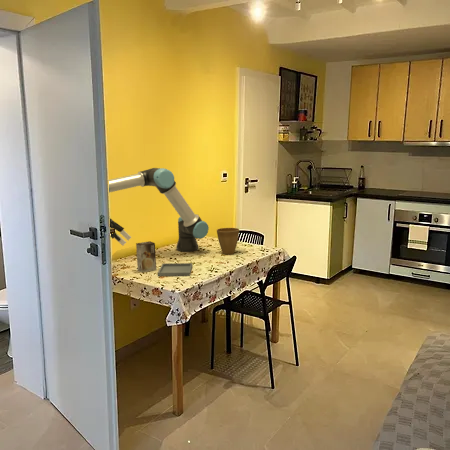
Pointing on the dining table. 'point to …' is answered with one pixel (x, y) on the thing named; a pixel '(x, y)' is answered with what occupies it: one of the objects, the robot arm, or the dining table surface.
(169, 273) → the tray
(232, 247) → the plant pot
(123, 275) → the dining table surface
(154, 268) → the coffee box
